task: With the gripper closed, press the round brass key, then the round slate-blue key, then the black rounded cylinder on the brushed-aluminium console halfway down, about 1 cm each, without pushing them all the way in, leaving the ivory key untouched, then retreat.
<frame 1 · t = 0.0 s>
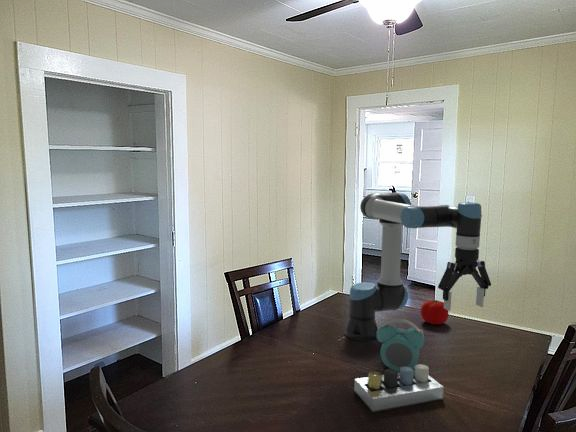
hand: (463, 307, 149), 28 cm above the table, fingers open, 13 cm apart
black rounded cylinder: (390, 380, 142), point 6 cm above the table, slide at 0.0 cm
key brass: (374, 383, 140), point 6 cm above the table, slide at 0.0 cm
key slate: (406, 378, 144), point 6 cm above the table, slide at 0.0 cm
key ivory: (421, 375, 146), point 6 cm above the table, slide at 0.0 cm
console: (397, 395, 144), on the table
alarm clock: (398, 368, 163), on the table
tomato: (433, 323, 210), on the table
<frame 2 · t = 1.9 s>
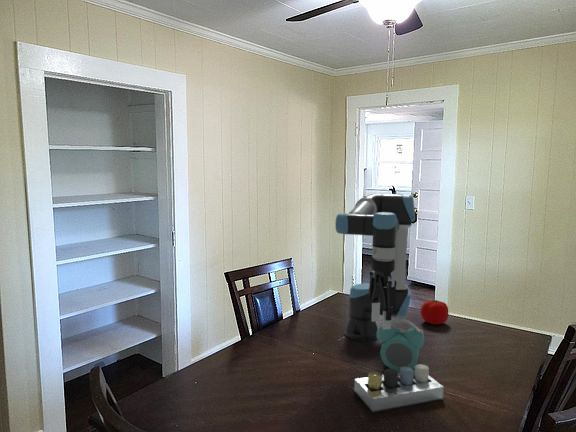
hand: (380, 324, 145), 23 cm above the table, fingers open, 7 cm apart
nothing on the table moved.
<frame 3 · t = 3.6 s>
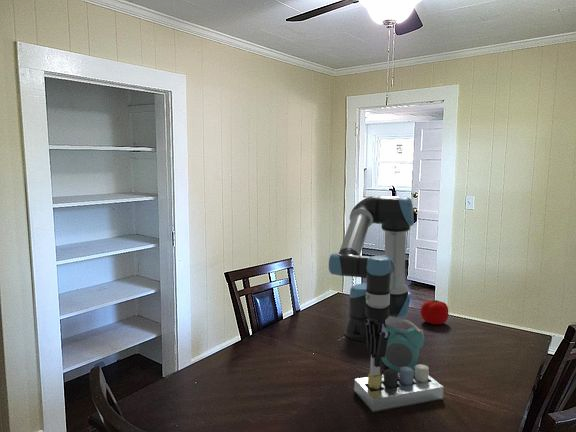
hand: (374, 374, 140), 9 cm above the table, fingers closed
key brass: (374, 383, 140), point 6 cm above the table, slide at 0.0 cm, touching gripper
everything else where it was.
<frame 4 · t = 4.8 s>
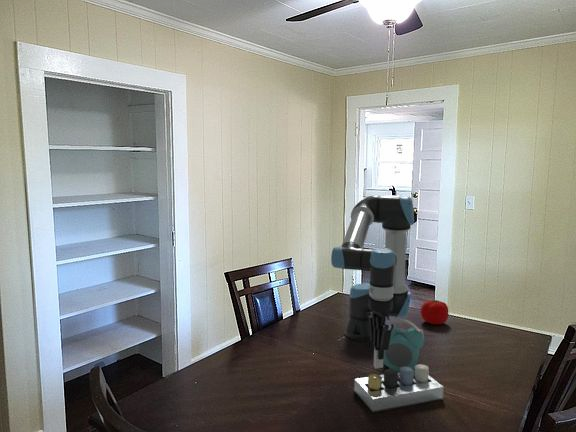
hand: (378, 366, 140), 11 cm above the table, fingers closed
key brass: (374, 385, 140), point 5 cm above the table, slide at 0.9 cm
everything else where it was.
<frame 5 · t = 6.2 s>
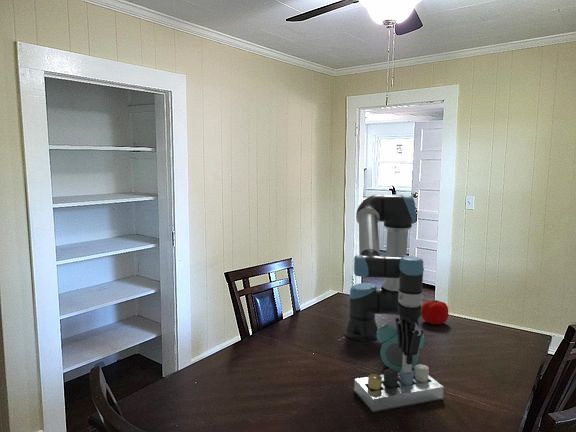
hand: (406, 371, 143), 8 cm above the table, fingers closed
key slate: (406, 380, 144), point 5 cm above the table, slide at 0.8 cm, touching gripper
everything else where it was.
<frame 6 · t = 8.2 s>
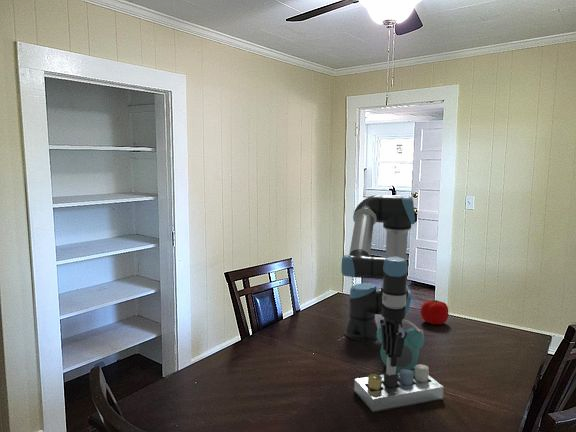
hand: (391, 373, 142), 8 cm above the table, fingers closed
black rounded cylinder: (390, 382, 142), point 5 cm above the table, slide at 0.8 cm, touching gripper
key slate: (406, 380, 144), point 5 cm above the table, slide at 0.9 cm
everything else where it was.
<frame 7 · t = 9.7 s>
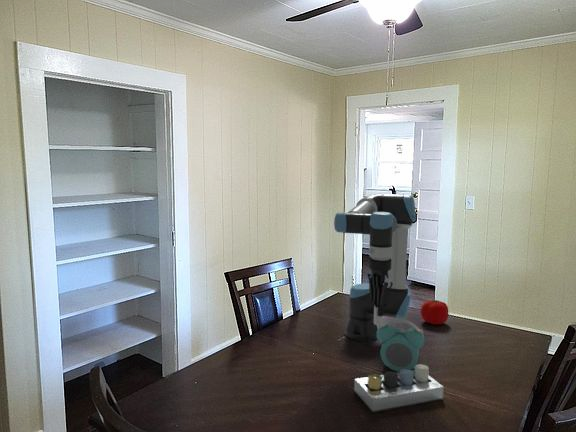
hand: (378, 323, 148), 22 cm above the table, fingers closed
black rounded cylinder: (390, 383, 142), point 5 cm above the table, slide at 0.9 cm
everything else where it was.
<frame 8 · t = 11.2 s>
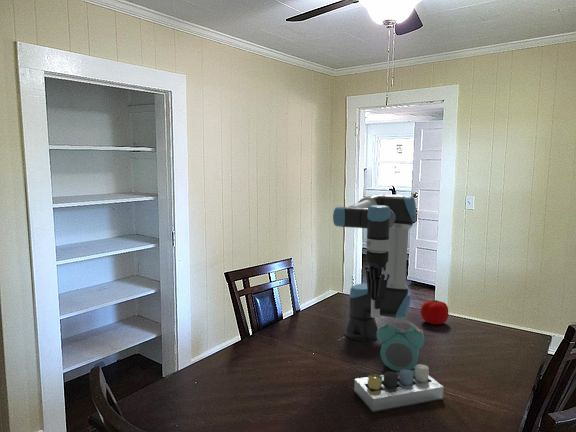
hand: (375, 316, 149), 24 cm above the table, fingers closed
nothing on the table moved.
at the end: key brass slide at 0.9 cm; key slate slide at 0.9 cm; black rounded cylinder slide at 0.9 cm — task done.
